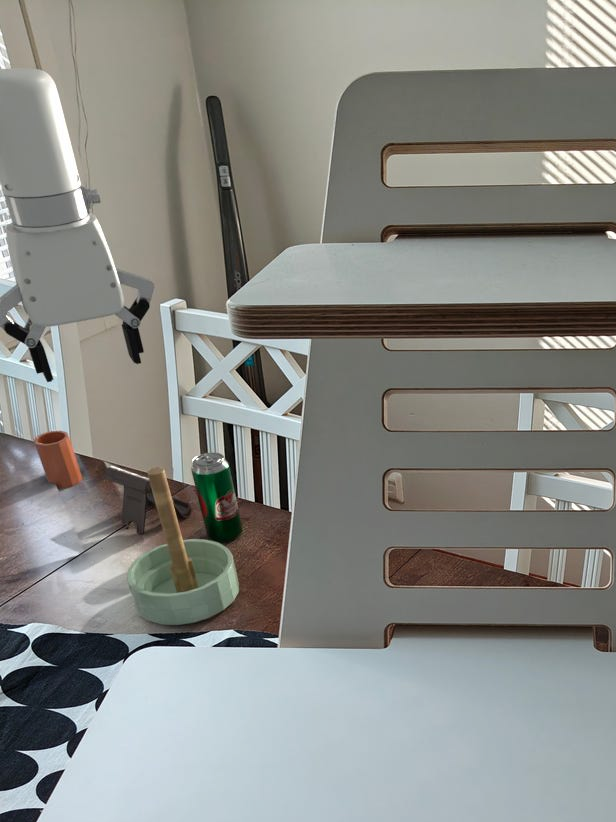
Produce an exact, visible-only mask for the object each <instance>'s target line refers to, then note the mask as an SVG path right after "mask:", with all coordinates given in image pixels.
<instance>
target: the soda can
mask: <svg viewBox="0 0 616 822" xmlns="http://www.w3.org/2000/svg"><path fill="white" fill-rule="evenodd" d="M191 463H192V466H191V468H190V471H191V475H192V479H193V483H194V487H195V491H196V495H197V499H198V504H199V509H200V512H201V516H202V521H203V524H204V528H205V533H206V536H207V537H208V538H209V540H210V541H214V542H218V543H228V542H231V541H234V540H237V538H239V537H240V535H241V534H242V532H243V529H244V528H243V523H242V519H241V513H240V510H239V505H238V501H237V496H236V491H235V487H234V481H233V478H232V474H231V467H230V463H229V462H228V461H227V459H226V458H225V455H224V454H222V453H220V452H205V453H201V454H199V455H197V456H195V457H194V458H193V459H192V462H191Z"/></svg>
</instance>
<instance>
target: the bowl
mask: <svg viewBox="0 0 616 822" xmlns="http://www.w3.org/2000/svg"><path fill="white" fill-rule="evenodd" d="M183 543H184V547H185V550H186V554H187V558H191V560H192V563H193V567H194V571H195V575H196V579H197V583H198V586H199V588H196V589H193V590H190V591H186V592H180V593H177V592H176V589H175V585H174V581H173V578H172V574H171V571H170V567H169V564H171V563H172V561H171V558H170V554H169V550H168V547H167V543H164V544H161V545H158V546H155V547H154V548H152V549H149V550H147V551H145V552H144V553H143V554H141V555H140V556H138V557H137V558H136V559H134V561H133V562H132V563H131V564H130V566H129V567H128V569H127V574H126V581H127V583H128V584H127V585H128V588H129V591H130V595H131V597H132V600H133V603H134V606H135V607H134V608H135V609H136V611H137V613H138V615H139V616H141V617H142V618H144V619H145V620H147V621H149V622H152V623H156V624H159V625H167V626H169V625H170V626H179V625H181V626H182V625H186V624H193V623H198V622H201V621H203V620H207V619H210V618H212V617H214V616H215V615H217V614H219V613H221V612H223V611H225V610H226V608H228V607H229V606H231V604H232V603H233V602H234V601H235V600H236V598H237V596H238V594H239V592H240V582H239V578H238V577H239V576H238V572H237V568H236V564H235V560H234V556H233V554H232V552H231V551H230V549H229V548H228V547H227V546H226V545H223V544H221V542H215V541H213V540H210V539H209V540H208V539H203V538H202V539H200V538H191V539H190V538H189V539H183Z"/></svg>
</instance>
